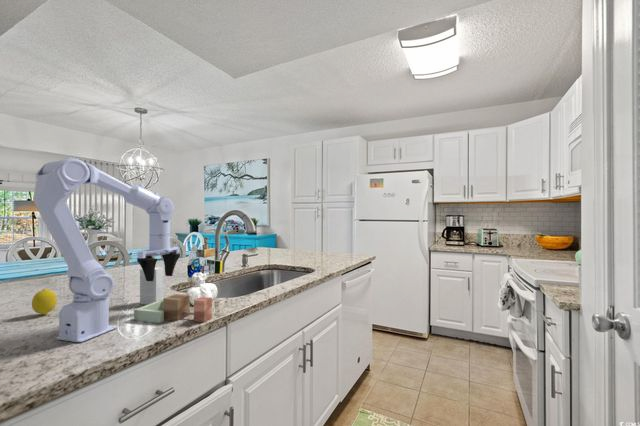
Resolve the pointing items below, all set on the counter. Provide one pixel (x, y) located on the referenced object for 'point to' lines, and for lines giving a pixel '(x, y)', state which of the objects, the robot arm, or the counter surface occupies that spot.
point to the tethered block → (187, 308)
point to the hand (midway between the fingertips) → (159, 278)
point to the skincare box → (151, 287)
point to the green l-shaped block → (150, 312)
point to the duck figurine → (201, 288)
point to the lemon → (44, 301)
